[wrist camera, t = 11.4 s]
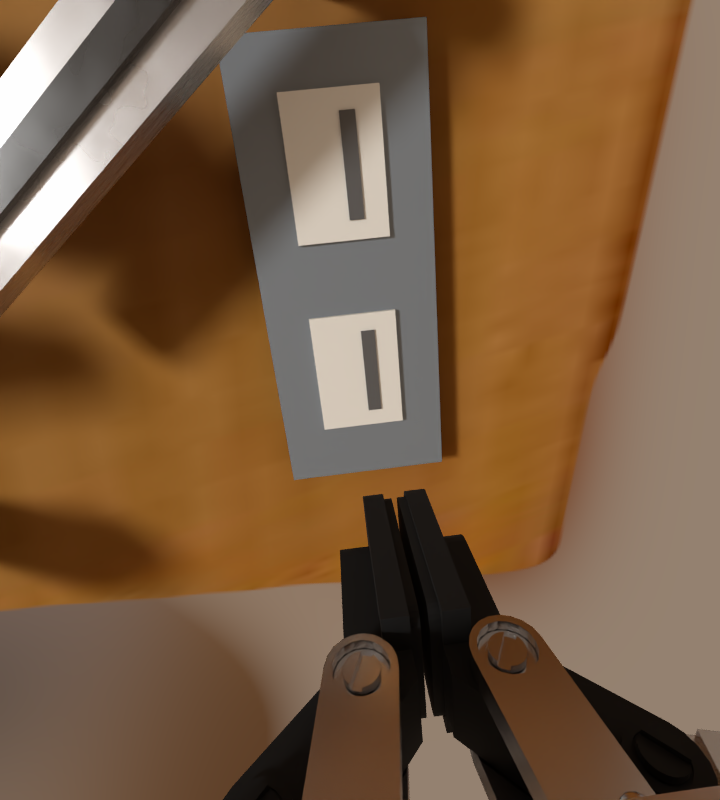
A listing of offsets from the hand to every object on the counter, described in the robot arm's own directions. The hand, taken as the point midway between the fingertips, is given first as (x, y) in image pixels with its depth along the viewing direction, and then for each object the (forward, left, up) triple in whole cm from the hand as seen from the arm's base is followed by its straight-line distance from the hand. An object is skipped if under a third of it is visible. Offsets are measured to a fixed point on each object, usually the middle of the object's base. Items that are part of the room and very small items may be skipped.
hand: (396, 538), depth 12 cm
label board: (-5, 0, -17) cm, 18 cm away
